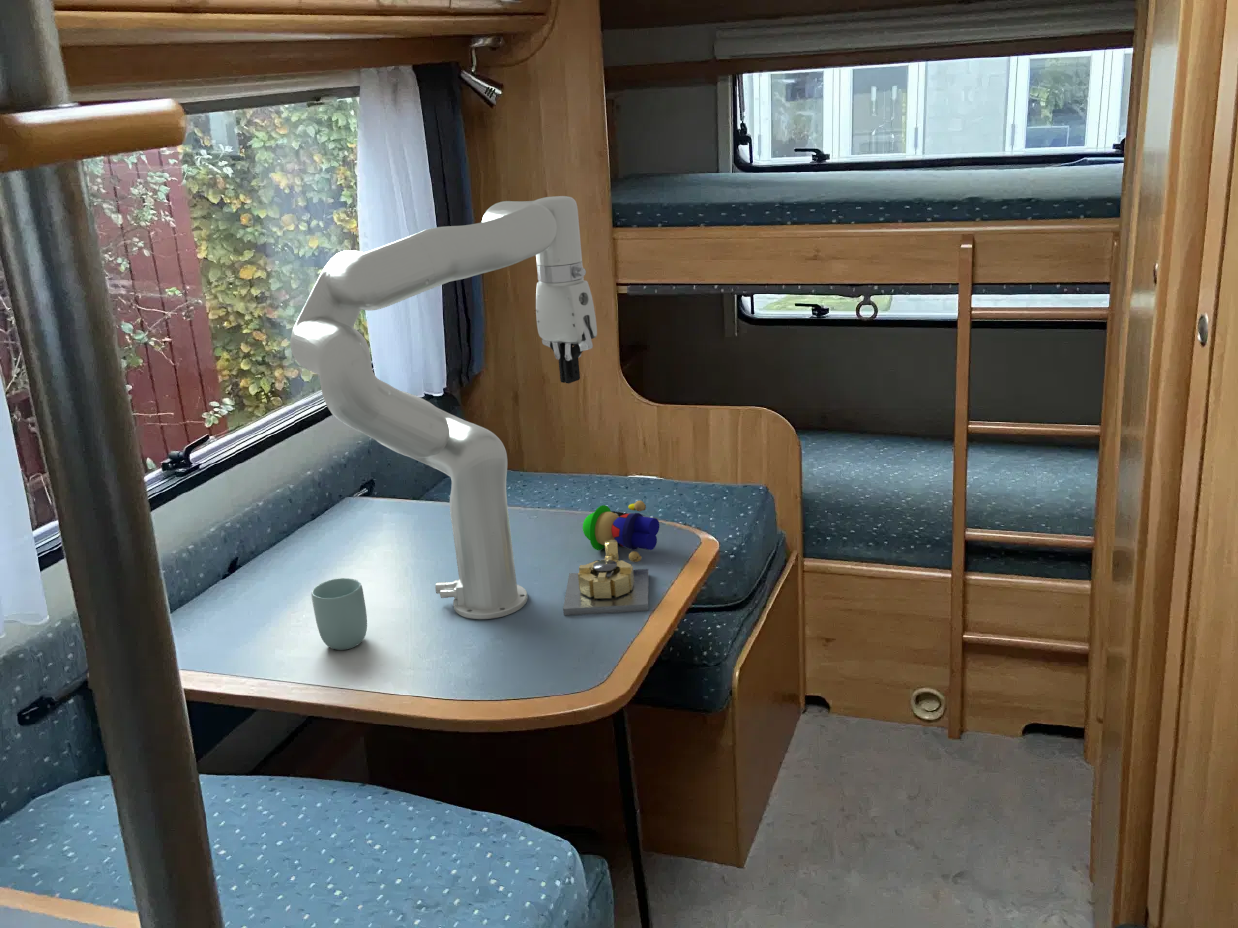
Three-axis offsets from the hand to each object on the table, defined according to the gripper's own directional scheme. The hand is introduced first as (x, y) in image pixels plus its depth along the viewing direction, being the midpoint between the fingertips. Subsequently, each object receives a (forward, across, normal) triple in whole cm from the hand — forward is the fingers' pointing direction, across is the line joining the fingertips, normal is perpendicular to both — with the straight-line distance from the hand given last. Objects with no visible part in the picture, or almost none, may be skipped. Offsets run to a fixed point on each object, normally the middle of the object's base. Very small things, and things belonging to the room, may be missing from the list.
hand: (570, 381), depth 191 cm
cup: (+35, +14, +43) cm, 57 cm away
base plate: (+35, -10, +6) cm, 37 cm away
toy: (+35, 0, -10) cm, 37 cm away
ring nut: (+34, -9, +4) cm, 35 cm away
